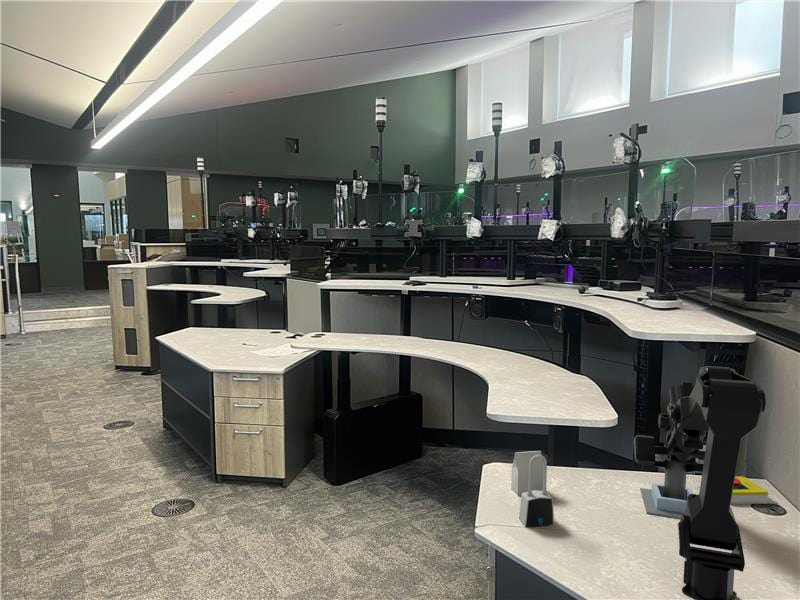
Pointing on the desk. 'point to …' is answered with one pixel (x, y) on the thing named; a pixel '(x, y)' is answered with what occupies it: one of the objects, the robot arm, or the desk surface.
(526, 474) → the grey chamfered block
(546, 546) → the desk surface
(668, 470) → the plug
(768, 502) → the emergency button
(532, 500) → the padlock
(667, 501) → the dock
